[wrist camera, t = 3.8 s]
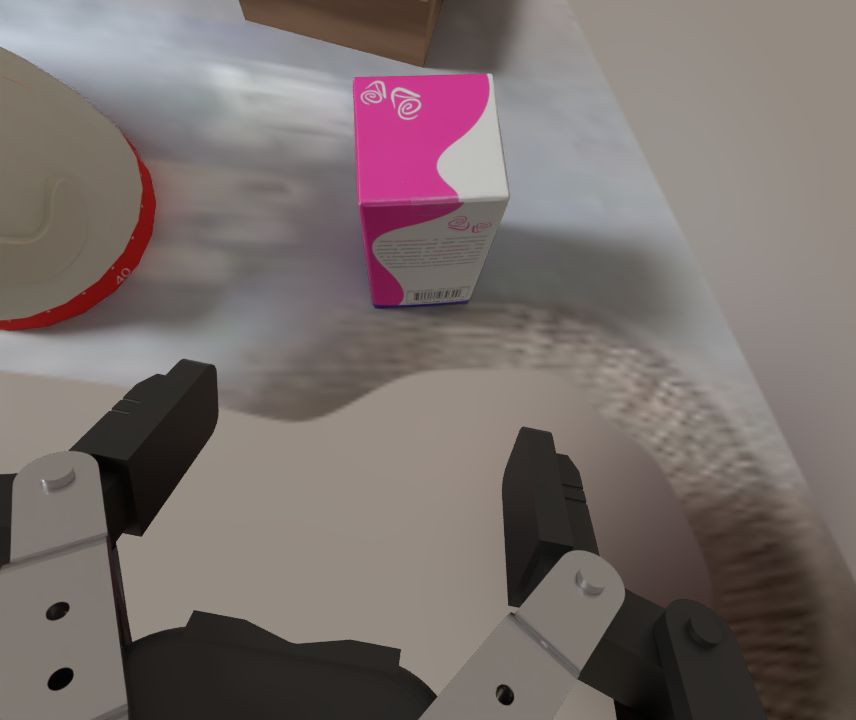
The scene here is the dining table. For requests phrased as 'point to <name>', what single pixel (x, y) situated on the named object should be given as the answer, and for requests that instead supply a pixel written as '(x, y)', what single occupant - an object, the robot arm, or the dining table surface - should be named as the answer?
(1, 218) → the kitchen timer
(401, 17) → the walnut block
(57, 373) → the dining table surface
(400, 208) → the supplement box
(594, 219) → the dining table surface
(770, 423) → the dining table surface
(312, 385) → the dining table surface
